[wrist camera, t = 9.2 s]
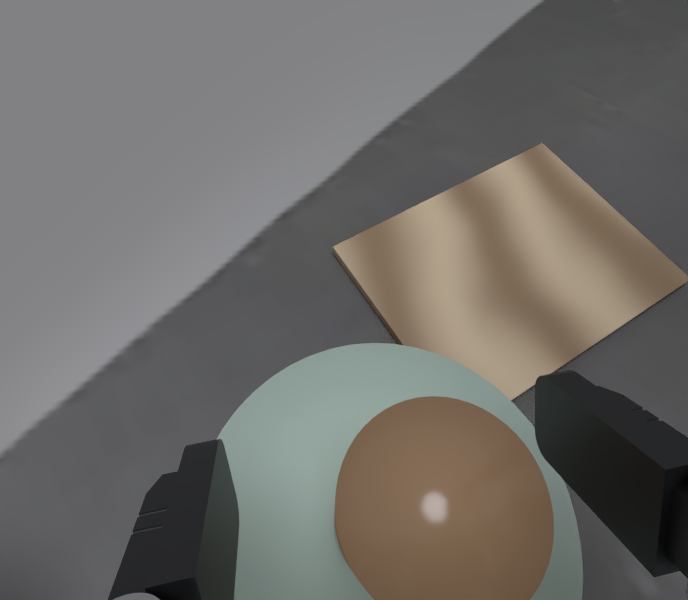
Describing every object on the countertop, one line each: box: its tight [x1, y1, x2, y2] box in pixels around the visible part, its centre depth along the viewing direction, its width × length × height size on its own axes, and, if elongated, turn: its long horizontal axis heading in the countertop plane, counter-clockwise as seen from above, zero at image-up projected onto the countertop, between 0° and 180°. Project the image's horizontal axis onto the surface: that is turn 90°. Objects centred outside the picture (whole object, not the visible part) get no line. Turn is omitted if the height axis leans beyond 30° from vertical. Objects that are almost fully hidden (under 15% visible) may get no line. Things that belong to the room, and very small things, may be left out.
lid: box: [216, 343, 583, 600], centre depth 11 cm, size 12×12×10 cm
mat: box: [333, 143, 688, 401], centre depth 26 cm, size 16×12×1 cm
